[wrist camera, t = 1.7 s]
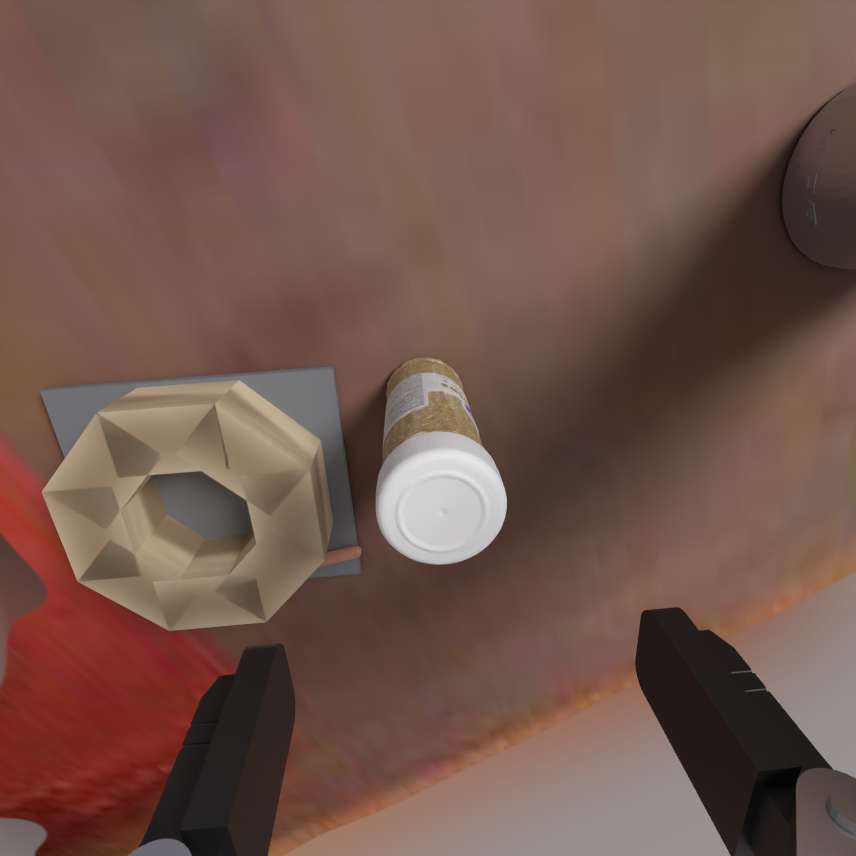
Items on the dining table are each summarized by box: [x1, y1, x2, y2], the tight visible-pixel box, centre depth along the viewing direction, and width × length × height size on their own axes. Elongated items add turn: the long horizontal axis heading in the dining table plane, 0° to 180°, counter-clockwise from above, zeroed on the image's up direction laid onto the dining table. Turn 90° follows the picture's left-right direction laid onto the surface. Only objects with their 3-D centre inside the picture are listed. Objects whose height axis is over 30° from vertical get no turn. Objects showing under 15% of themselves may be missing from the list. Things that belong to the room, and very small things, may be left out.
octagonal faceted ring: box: [42, 380, 333, 631], centre depth 28 cm, size 14×14×4 cm
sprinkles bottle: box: [376, 357, 507, 565], centre depth 23 cm, size 5×5×14 cm
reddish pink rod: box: [319, 545, 362, 567], centre depth 32 cm, size 13×1×1 cm, turn 104°
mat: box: [40, 366, 361, 578], centre depth 30 cm, size 16×14×1 cm
